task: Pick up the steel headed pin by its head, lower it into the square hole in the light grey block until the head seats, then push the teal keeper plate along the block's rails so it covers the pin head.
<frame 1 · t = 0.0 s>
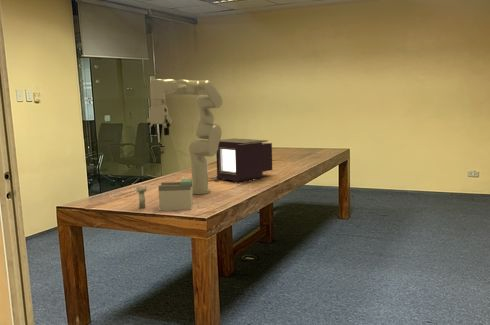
hand: (159, 135, 244), 37 cm above the table, tool pointing down, fingers open, 9 cm apart
keeper: (186, 181, 237), point 13 cm above the table, slide at 0.0 cm
crt monitor: (245, 178, 324), on the table
pin: (142, 208, 239), on the table
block: (176, 207, 238), on the table
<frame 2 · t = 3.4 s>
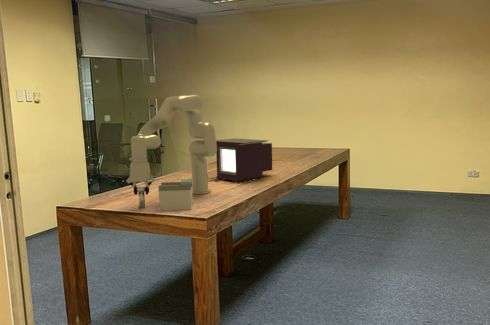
hand: (141, 194, 238), 7 cm above the table, tool pointing down, fingers closed on pin, 5 cm apart
pin: (142, 208, 239), on the table, touching gripper
everything else where it was.
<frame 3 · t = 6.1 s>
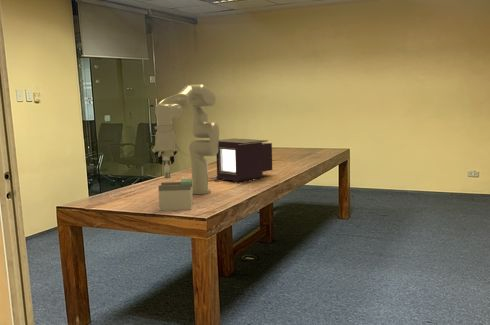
hand: (166, 163, 235), 23 cm above the table, tool pointing down, fingers closed on pin, 5 cm apart
pin: (167, 177, 236), point 16 cm above the table, touching gripper
everything else where it was.
when the fingers open (12 cm above the table, at t = 9.0 s): pin drops 4 cm, resting on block.
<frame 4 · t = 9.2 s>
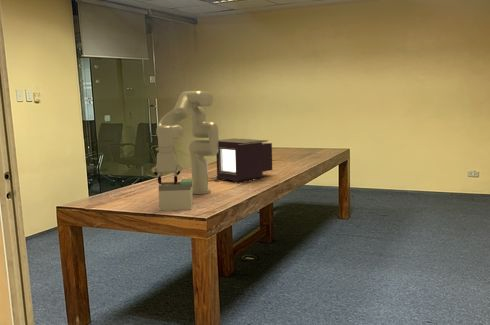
hand: (167, 183, 237), 13 cm above the table, tool pointing down, fingers open, 7 cm apart
pin: (168, 205, 238), point 1 cm above the table, touching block
everything else where it was.
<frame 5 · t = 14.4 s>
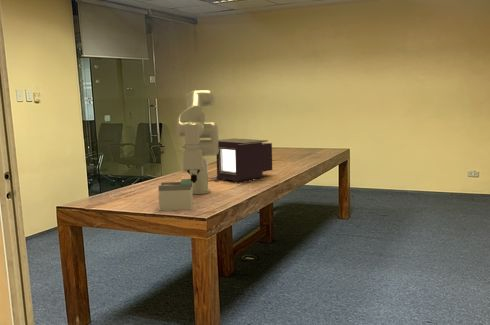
hand: (194, 182, 237), 13 cm above the table, tool pointing down, fingers closed
keeper: (186, 181, 237), point 13 cm above the table, slide at 0.0 cm, touching gripper
everything else where it was.
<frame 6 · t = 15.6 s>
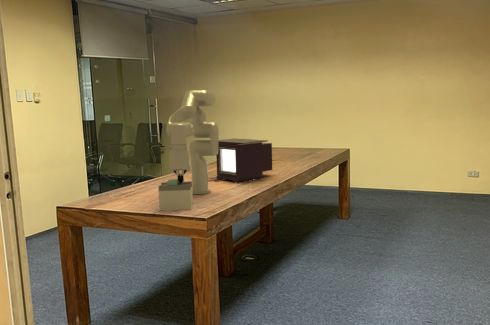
hand: (180, 182, 237), 13 cm above the table, tool pointing down, fingers closed
keeper: (172, 182, 237), point 13 cm above the table, slide at 6.9 cm, touching gripper
everything else where it was.
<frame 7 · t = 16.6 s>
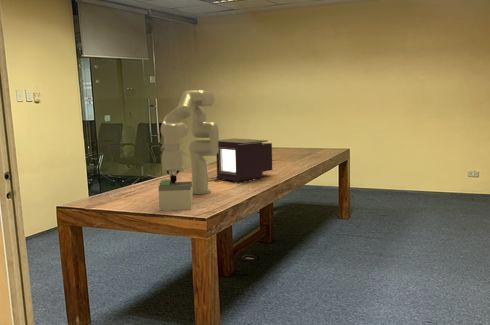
hand: (173, 183, 237), 13 cm above the table, tool pointing down, fingers closed
keeper: (165, 182, 237), point 13 cm above the table, slide at 10.5 cm, touching gripper
everything else where it was.
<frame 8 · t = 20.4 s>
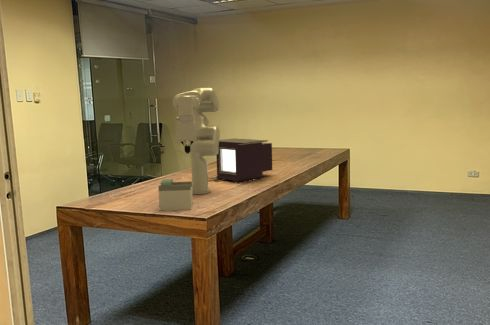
hand: (187, 153, 245), 27 cm above the table, tool pointing down, fingers closed
keeper: (166, 182, 237), point 13 cm above the table, slide at 10.0 cm
everything else where it was.
at the end: pin 0.0 cm from the target spot on the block, point 1.0 cm above the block's base; pin tilted 0°; keeper slide at 10.0 cm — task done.
